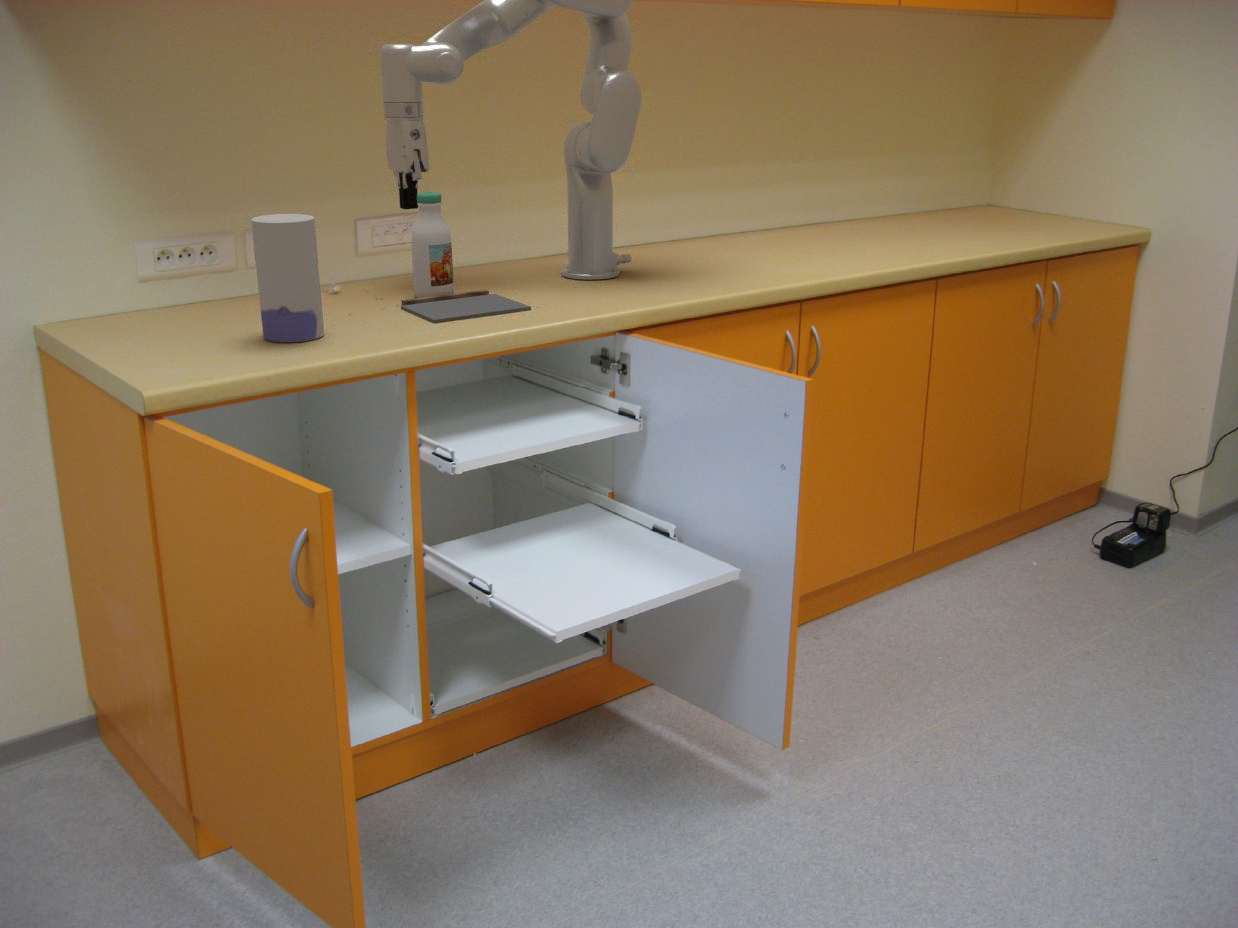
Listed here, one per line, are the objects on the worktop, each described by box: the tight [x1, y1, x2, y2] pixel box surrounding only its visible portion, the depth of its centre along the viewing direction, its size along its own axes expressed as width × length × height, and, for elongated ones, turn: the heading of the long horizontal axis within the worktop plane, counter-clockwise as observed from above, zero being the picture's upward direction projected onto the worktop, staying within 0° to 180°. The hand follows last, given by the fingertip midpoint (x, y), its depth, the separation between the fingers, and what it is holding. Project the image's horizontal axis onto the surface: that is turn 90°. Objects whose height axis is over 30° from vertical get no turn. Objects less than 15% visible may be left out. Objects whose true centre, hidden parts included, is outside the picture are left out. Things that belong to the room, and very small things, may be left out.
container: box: [250, 213, 325, 343], centre depth 192 cm, size 10×10×20 cm
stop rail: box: [401, 289, 490, 306], centre depth 222 cm, size 18×1×1 cm, turn 124°
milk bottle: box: [411, 191, 455, 298], centre depth 223 cm, size 8×8×20 cm
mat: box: [400, 293, 532, 324], centre depth 216 cm, size 20×14×1 cm
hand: (409, 208), depth 228 cm, fingers closed
